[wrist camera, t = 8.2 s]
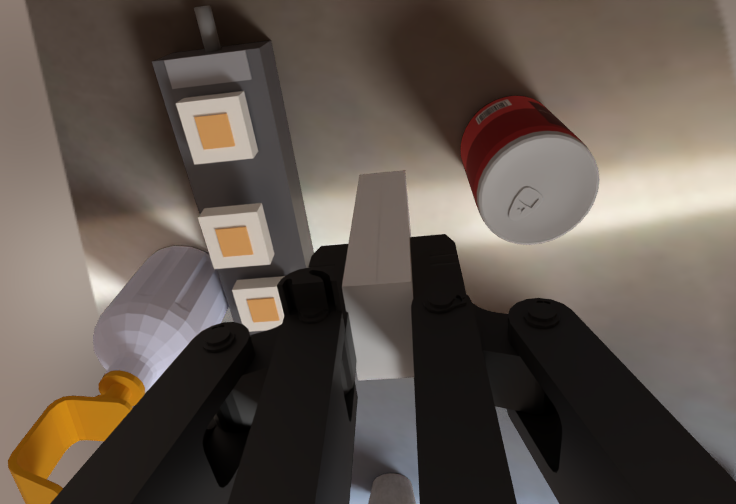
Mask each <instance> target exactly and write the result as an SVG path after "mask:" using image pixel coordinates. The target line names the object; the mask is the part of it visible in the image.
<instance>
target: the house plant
mask: <svg viewBox="0 0 736 504" xmlns="http://www.w3.org/2000/svg"><path fill="white" fill-rule="evenodd" d="M368 504H416V502H415V497H414V493H413V488H412V484H411V482H410V480H409V479H408V478H406V477H405V476H403V475H400V474H395V473H388V474H383V475H380V476H378V477H377V478H376V479H375V480H374V481H373V485H372V490H371V494H370V498H369V503H368Z"/></svg>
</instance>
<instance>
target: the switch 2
mask: <svg viewBox="0 0 736 504" xmlns="http://www.w3.org/2000/svg"><path fill="white" fill-rule="evenodd" d="M198 220H199V223H200V226H201V229H202V233H203V236H204V239H205V242H206V245H207V248H208V251H209V254H210V258H211V261H212V264H213V267H214V269H222V268H234V267H246V266H258V265H270V264H271V262H272V259H273V257H274V250H273V246H272V242H271V238H270V234H269V230H268V226H267V222H266V218H265V214H264V210H263V206H262V203H256V204H245V205H235V206H224V207H214V208H204V210H203V211H202V212H201V214H200V215H199V216H198Z"/></svg>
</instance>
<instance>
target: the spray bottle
mask: <svg viewBox="0 0 736 504" xmlns="http://www.w3.org/2000/svg"><path fill="white" fill-rule="evenodd" d="M228 307H229V305H228V302H227V298H226V295H225V292H224V289H223V286H222V283H221V280H220V276H219V273H218V270H217V269H214V267H213V264H212V261H211V258H210V255H209V254H208V253H206V252H204V251H201V250H198V249H196V248H193V247H189V246H171V247H167V248H164V249H160V250H158V251H156V252H155V253H154V254H153V255H151V256H150V257H149V258H148V259H147V260H146V261H145V262H144V263H143V265H142V266H141V267H140V268H139V269H138V271H137V272H136V273H135V274H134V276H133V277H132V278H131V279H130V280H129V282H128V283H127V284H126V285H125V286H124V288H123V289H122V290H121V291H120V293H119V294H118V295H117V296H116V297H115V299H114V300H113V301H112V302H111V303H110V305H109V306H108V307H107V308H106V310H105V311H104V312H103V313H102V314H101V316H100V318H99V320H98V322H97V324H96V326H95V329H94V335H93V344H94V352H95V354H96V356H97V357H98V360H99V361H100V363H101V365H102V366H103V367H104V368H105V369H106V370H107V371H106V373H105V374H104V376H103V378H102V380H101V381H100V383H99V391H100V393H101V395H98V396H96V397H85V396H66V397H62V398H60V399H58V400H55V401H54V402H53V403H51V404H50V405H49V406H48V407H47V408H46V410H45V411H44V412H43V414H42V415H41V416H40V417H39V419H38V420H37V421H36V422H35V424H34V425H33V426H32V428H31V429H30V430H29V431H28V433H27V434H26V435H25V437H24V438H23V439H22V441H21V442H20V443H19V444H18V446H17V447H16V449H15V450H14V451H13V452H12V454H11V456H10V458H9V460H8V468H9V470H10V472H11V474H12V476H13V478H14V480H15V482H16V484H17V487H18V489H19V491H20V493H21V495H22V497H23V499H24V501H25V503H26V504H50V503H51V502H52V501H53V500H54V499H55V497H56V496H57V495H58V494H59V493H60V492H61V490H62V489H63V488H62V487H61V486H59V485H58V484H55V483H53V482H51V481H49V480H47V478H48V477H49V475H50V474H51V472H52V470H53V469H54V468H55V466H56V465H57V463H58V461H59V460H60V459H61V457H62V456H63V454H64V453H65V451H66V450H67V449H68V448H69V447H70V446H71V445H72V444H74V443H76V442H77V441H79V440H94V441H105V440H106V439H107V437H108V436H109V435H110V434H111V433H112V432H113V430H114V429H115V428H116V427H117V426H118V425H119V423H120V422H121V421H122V420H123V419H124V418H125V417H126V415H127V414H128V413H129V412H130V411H131V410H132V406H134V405H136V404H137V403H138V402H139V400H140V399H141V398H142V397H143V396H144V394H145V393H146V391H147V390H149V389H150V388H151V387H152V385H153V384H154V383H155V382H156V381H157V380H158V378H159V377H160V376H161V375H162V374H163V373H164V372H165V370H166V369H167V368H168V367H169V366H170V365H171V363H172V362H173V361H174V360H175V359H176V358H177V356H178V355H179V354H180V353H181V352H182V351H183V350H184V348H185V347H186V346H187V345H188V344H189V343H190V341H191V340H192V339H193V338H194V337H195V336H196V335H198V334H199V333H200V332H201V331H203V330H205V329H207V328H209V327H211V326H213V325H216V324H220V323H221V322H222V320H223V317H224V315H225V313H226V311H227V309H228Z"/></svg>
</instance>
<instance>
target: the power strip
mask: <svg viewBox="0 0 736 504" xmlns="http://www.w3.org/2000/svg"><path fill="white" fill-rule="evenodd" d="M194 11H195V15H196V18H197V22H198V26H199V30H200V34H201V37H202V41H203V45H204V49H200V50H192V51H184V52H176V53H171V54H169V55H167V56H164V57H162V58H159V59H157V60H155V61H152V64H153V68H154V71H155V74H156V77H157V80H158V83H159V87H160V90H161V93H162V96H163V99H164V102H165V106H166V109H167V112H168V115H169V118H170V121H171V124H172V128H173V131H174V134H175V137H176V140H177V143H178V147H179V150H180V153H181V156H182V159H183V162H184V166H185V169H186V172H187V175H188V178H189V181H190V185H191V188H192V191H193V194H194V197H195V200H196V204H197V207H198V210H199V213H200V214H201V212H202V211H203V210H204V208H214V207H224V206H235V205H245V204H256V203H262V206H263V210H264V214H265V218H266V222H267V226H268V230H269V234H270V238H271V242H272V246H273V250H274V257H273V259H272V262H271V264H270V265H258V266H246V267H234V268H222V269H217V270H218V273H219V276H220V280H221V283H222V286H223V289H224V292H225V295H226V298H227V302H228V305H229V308H230V311H231V314H232V317H233V321H234V322H236V323H240V324H242V321H241V318H240V315H239V312H238V308H237V305H236V302H235V299H234V295H233V292H232V289H233V287H234V285H235V283H236V281H237V280H244V279H256V278H268V277H281V276H286V275H288V274H289V273H291V272H294V271H296V270H299V269H303V268H309V267H308V266H309V263H310V259H311V256H312V255H313V254H314V251H313V246H312V241H311V236H310V231H309V226H308V221H307V216H306V211H305V206H304V201H303V196H302V192H301V187H300V182H299V177H298V172H297V167H296V162H295V157H294V152H293V147H292V142H291V137H290V132H289V127H288V122H287V117H286V112H285V107H284V102H283V97H282V92H281V87H280V82H279V77H278V72H277V67H276V62H275V57H274V53H273V48H272V43H271V40H270V41H262V42H254V43H247V44H239V45H231V46H223V47H221V45H220V41H219V37H218V33H217V29H216V25H215V21H214V17H213V13H212V9H211V5H208V6H201V7H195V8H194ZM239 91H244V93H245V97H246V102H247V106H248V110H249V114H250V119H251V123H252V127H253V131H254V135H255V140H256V144H257V148H258V152H257V154H256V155H255V157H254V158H252V159H242V160H233V161H223V162H214V163H204V164H195V165H194V162H193V158H192V155H191V152H190V149H189V145H188V142H187V139H186V135H185V132H184V129H183V126H182V122H181V119H180V116H179V113H178V109H177V106H176V103H177V102H178V101H180V100H181V99H183V98H188V97H197V96H205V95H213V94H222V93H230V92H239ZM265 331H267V330H265ZM260 332H263V331H251V332H249V333H250V335H253V334H256V333H260Z"/></svg>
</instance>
